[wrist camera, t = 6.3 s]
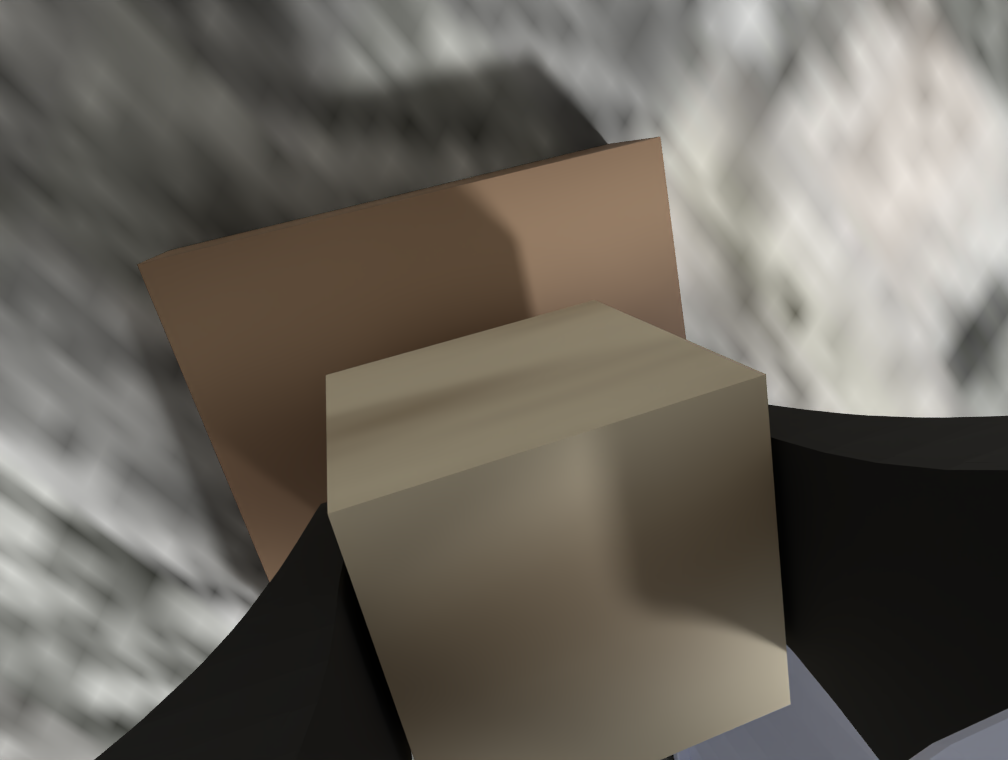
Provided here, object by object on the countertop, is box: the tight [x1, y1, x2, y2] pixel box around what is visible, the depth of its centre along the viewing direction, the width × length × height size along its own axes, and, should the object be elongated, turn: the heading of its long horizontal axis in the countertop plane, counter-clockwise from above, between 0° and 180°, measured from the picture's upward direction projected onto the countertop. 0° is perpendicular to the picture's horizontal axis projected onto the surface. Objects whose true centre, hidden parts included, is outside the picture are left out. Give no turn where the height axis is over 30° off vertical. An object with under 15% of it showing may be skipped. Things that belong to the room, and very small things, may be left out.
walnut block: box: [137, 137, 686, 582], centre depth 15 cm, size 10×10×3 cm
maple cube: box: [326, 300, 791, 760], centre depth 10 cm, size 5×5×5 cm
